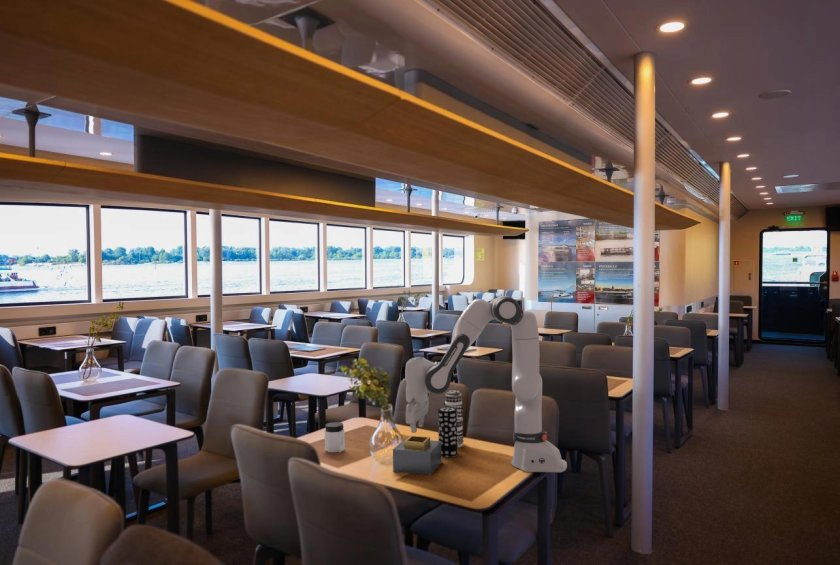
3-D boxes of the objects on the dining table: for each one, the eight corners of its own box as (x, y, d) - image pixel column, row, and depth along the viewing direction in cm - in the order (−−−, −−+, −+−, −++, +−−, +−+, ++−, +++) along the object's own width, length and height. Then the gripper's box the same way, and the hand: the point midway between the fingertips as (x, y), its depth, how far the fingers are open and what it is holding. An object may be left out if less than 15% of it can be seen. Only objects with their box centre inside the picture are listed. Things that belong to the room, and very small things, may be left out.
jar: (337, 454, 260) (336, 427, 260) (322, 452, 263) (321, 426, 263) (347, 448, 268) (347, 422, 268) (332, 446, 272) (332, 421, 271)
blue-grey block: (441, 462, 246) (441, 435, 246) (430, 474, 231) (430, 446, 231) (406, 459, 251) (405, 432, 251) (393, 471, 236) (392, 443, 236)
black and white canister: (458, 448, 265) (457, 394, 264) (441, 445, 270) (440, 392, 269) (467, 443, 273) (466, 390, 272) (450, 440, 277) (449, 388, 277)
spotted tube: (456, 457, 252) (455, 411, 251) (437, 456, 253) (436, 411, 253) (458, 451, 260) (458, 407, 260) (440, 451, 261) (439, 407, 261)
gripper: (416, 401, 230) (417, 436, 230) (430, 391, 249) (431, 423, 249) (401, 401, 232) (402, 435, 232) (416, 391, 251) (417, 422, 251)
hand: (417, 429), depth 241 cm, fingers open, 8 cm apart
